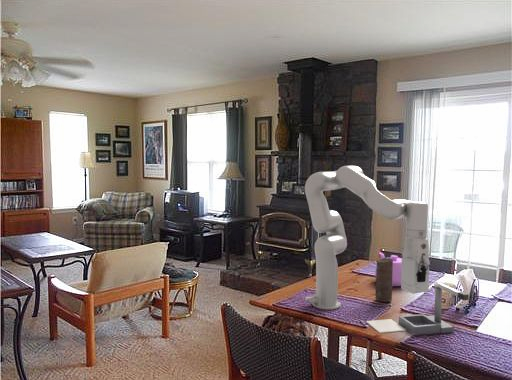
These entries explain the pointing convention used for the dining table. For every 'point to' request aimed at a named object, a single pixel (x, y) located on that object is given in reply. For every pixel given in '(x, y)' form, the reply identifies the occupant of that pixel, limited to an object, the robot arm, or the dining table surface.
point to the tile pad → (385, 326)
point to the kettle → (395, 269)
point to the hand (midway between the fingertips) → (414, 278)
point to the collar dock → (427, 320)
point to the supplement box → (412, 277)
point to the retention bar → (452, 291)
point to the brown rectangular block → (384, 279)
